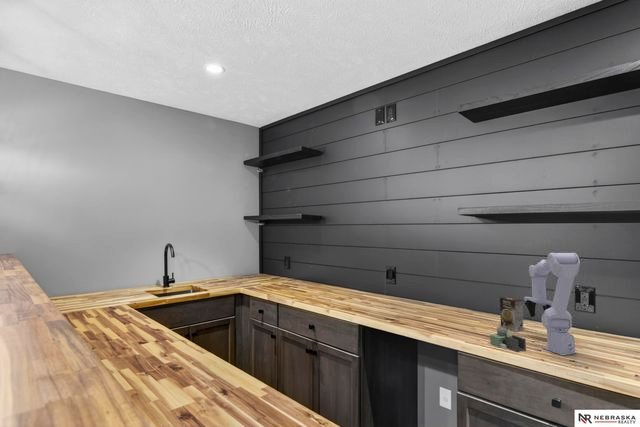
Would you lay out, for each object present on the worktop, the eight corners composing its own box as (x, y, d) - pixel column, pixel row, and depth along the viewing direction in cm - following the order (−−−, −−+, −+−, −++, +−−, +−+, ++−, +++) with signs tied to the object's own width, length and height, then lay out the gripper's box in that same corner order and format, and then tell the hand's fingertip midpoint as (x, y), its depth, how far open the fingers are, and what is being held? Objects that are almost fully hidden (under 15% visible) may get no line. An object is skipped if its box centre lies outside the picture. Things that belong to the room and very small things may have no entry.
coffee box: (500, 327, 182) (499, 297, 183) (509, 326, 185) (508, 296, 185) (515, 332, 174) (514, 300, 174) (524, 330, 176) (523, 299, 177)
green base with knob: (520, 346, 154) (520, 330, 154) (504, 349, 151) (503, 333, 151) (506, 341, 161) (506, 326, 161) (490, 343, 158) (489, 328, 158)
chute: (505, 347, 153) (505, 336, 153) (513, 346, 155) (513, 334, 155) (517, 352, 147) (516, 340, 147) (525, 350, 149) (525, 339, 149)
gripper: (519, 288, 171) (520, 315, 170) (547, 293, 157) (548, 323, 156) (529, 287, 173) (530, 314, 172) (558, 292, 159) (559, 321, 159)
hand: (539, 318), depth 165 cm, fingers open, 7 cm apart
